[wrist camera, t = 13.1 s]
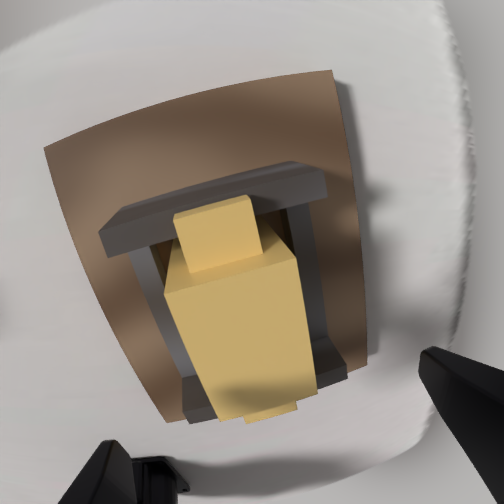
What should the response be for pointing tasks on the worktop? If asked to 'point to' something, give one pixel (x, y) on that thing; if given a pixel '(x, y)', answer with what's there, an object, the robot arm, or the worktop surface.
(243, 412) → the block
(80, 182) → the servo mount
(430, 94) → the worktop surface
